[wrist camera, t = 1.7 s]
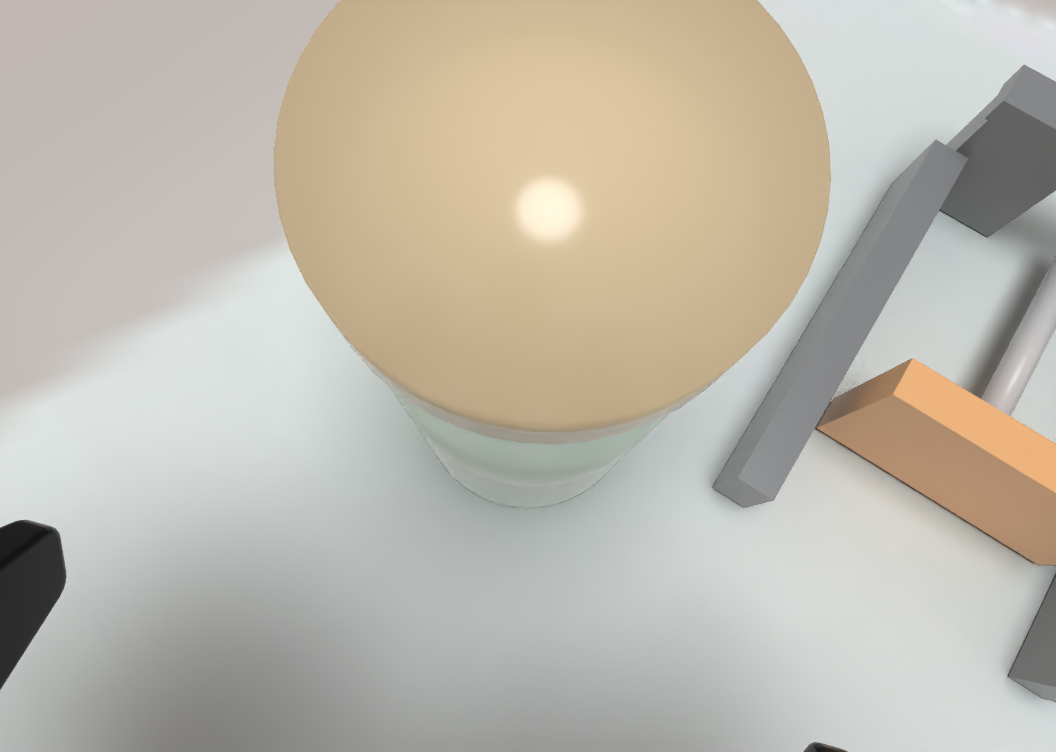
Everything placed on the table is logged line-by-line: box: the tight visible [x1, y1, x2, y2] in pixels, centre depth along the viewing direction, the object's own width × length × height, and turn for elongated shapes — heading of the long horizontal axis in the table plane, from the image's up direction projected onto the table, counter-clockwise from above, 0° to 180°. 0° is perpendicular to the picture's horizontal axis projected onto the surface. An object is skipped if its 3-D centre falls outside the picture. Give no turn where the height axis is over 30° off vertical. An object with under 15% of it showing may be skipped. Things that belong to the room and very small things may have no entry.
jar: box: [274, 0, 831, 508], centre depth 15 cm, size 6×6×14 cm
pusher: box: [817, 256, 1056, 565], centre depth 20 cm, size 8×7×4 cm
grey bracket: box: [712, 65, 1056, 702], centre depth 20 cm, size 12×10×5 cm
